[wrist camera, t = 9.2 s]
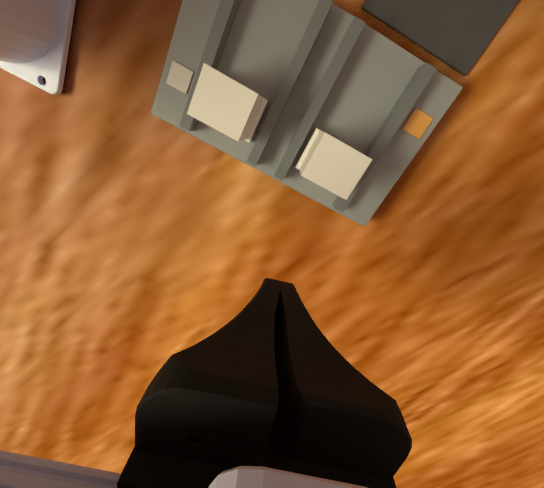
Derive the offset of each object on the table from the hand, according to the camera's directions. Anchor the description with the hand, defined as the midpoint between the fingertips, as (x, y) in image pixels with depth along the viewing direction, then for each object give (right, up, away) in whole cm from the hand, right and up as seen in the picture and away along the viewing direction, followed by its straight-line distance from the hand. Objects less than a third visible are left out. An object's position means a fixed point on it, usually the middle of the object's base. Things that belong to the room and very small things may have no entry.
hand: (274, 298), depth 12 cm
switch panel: (+2, +11, +4) cm, 12 cm away
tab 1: (-2, +10, +3) cm, 11 cm away
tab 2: (+3, +8, +4) cm, 9 cm away
